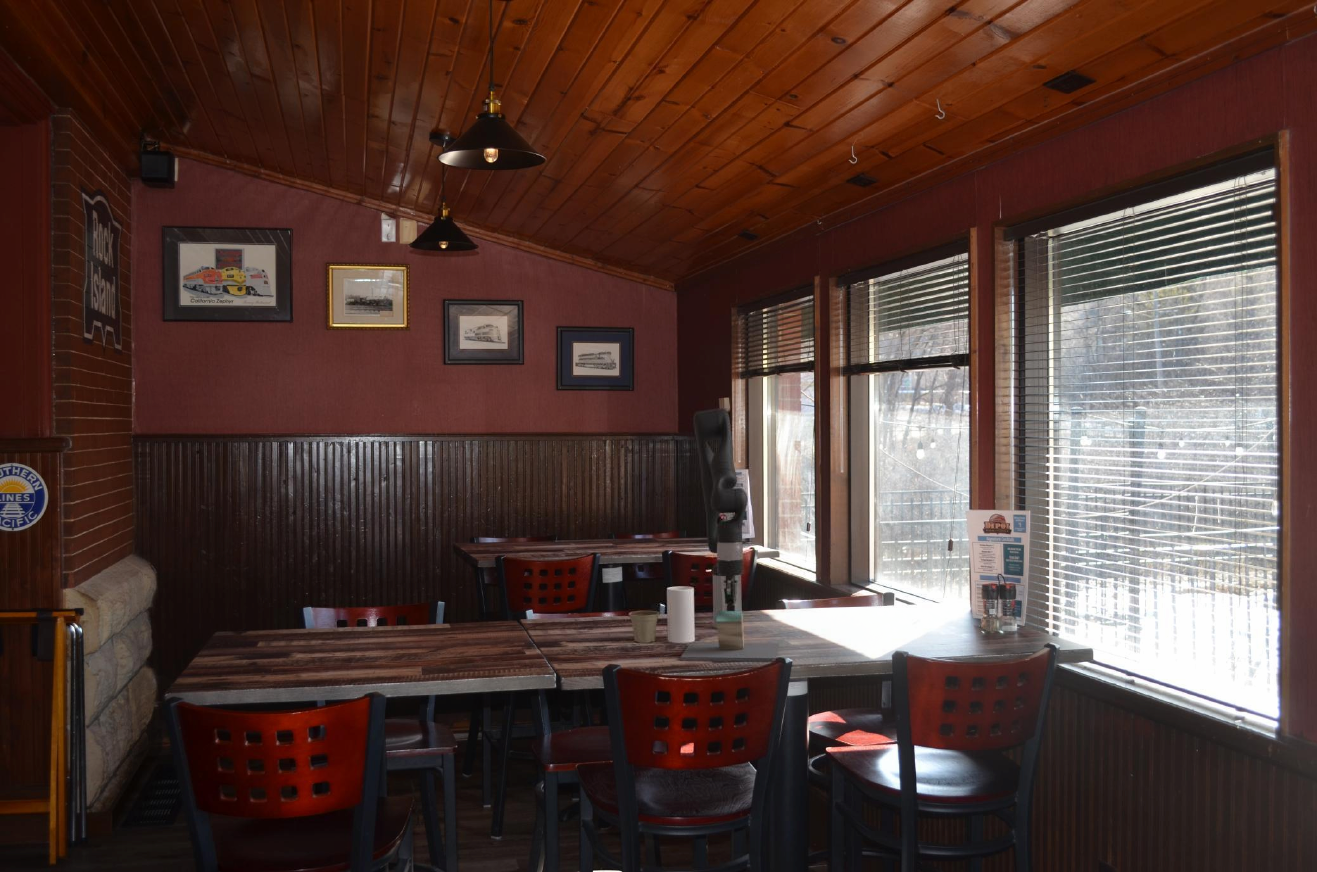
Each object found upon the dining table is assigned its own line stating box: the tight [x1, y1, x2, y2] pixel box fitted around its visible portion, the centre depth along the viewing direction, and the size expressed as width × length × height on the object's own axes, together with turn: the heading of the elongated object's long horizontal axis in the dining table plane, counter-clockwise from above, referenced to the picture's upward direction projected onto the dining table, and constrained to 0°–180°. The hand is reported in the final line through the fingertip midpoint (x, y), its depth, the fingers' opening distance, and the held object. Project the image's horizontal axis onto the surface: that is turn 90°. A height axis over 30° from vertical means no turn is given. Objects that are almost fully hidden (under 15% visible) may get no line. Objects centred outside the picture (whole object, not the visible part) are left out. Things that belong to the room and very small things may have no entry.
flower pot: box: [628, 610, 660, 644], centre depth 328 cm, size 9×9×9 cm
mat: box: [680, 641, 780, 663], centre depth 306 cm, size 22×26×1 cm
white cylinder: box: [666, 585, 696, 644], centre depth 328 cm, size 8×8×16 cm
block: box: [716, 610, 745, 649], centre depth 306 cm, size 4×7×11 cm
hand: (731, 618), depth 309 cm, fingers closed
